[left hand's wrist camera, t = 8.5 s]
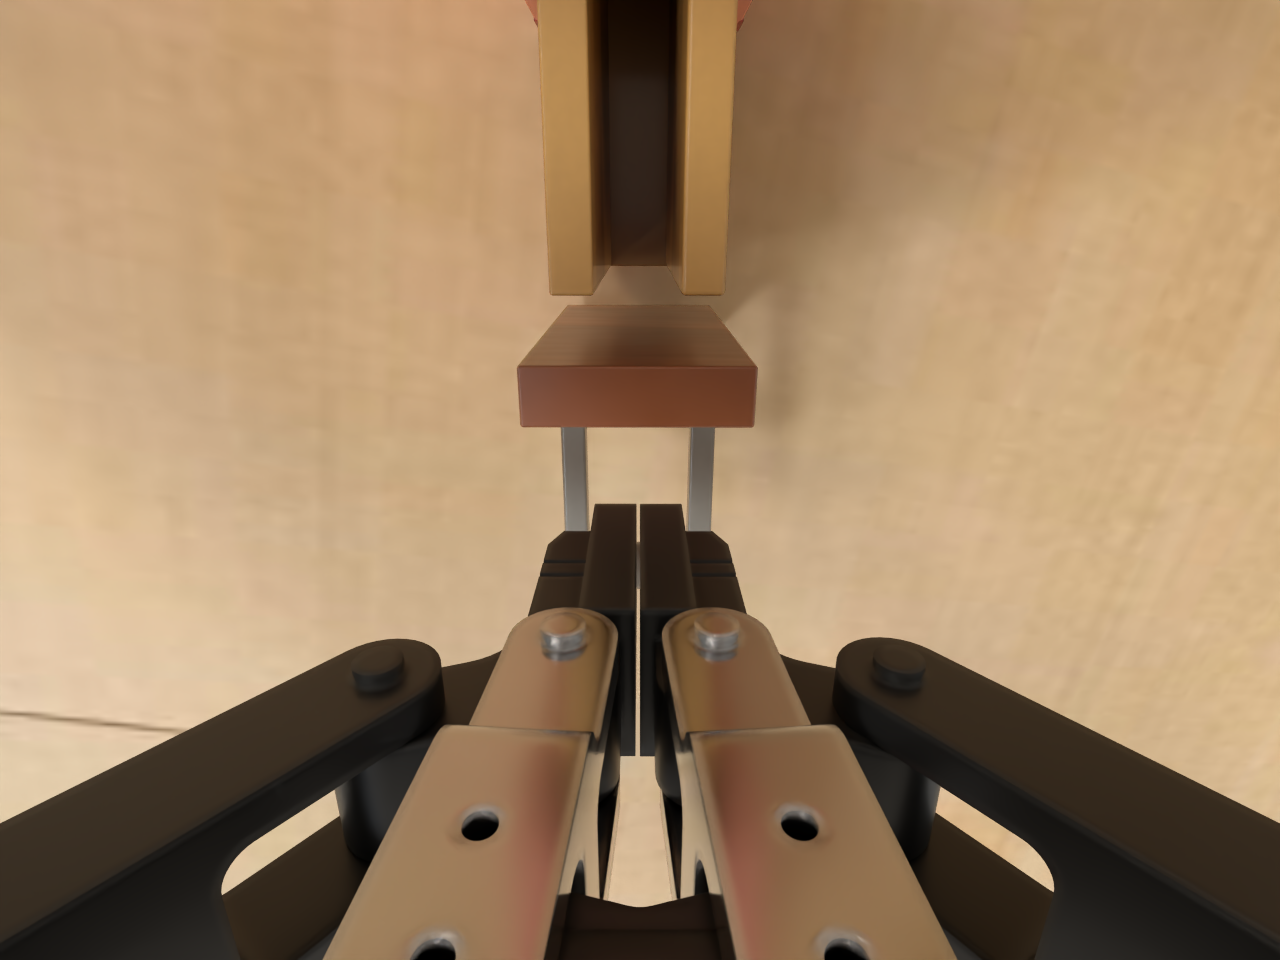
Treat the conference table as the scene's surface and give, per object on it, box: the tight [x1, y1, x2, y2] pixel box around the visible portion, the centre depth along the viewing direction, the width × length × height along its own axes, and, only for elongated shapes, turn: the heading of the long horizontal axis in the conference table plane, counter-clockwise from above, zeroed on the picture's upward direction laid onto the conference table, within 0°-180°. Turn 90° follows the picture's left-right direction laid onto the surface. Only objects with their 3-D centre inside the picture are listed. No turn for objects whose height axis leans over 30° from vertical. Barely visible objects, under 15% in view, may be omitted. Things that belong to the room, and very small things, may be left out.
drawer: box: [517, 0, 758, 589], centre depth 16 cm, size 22×4×10 cm, turn 0°
